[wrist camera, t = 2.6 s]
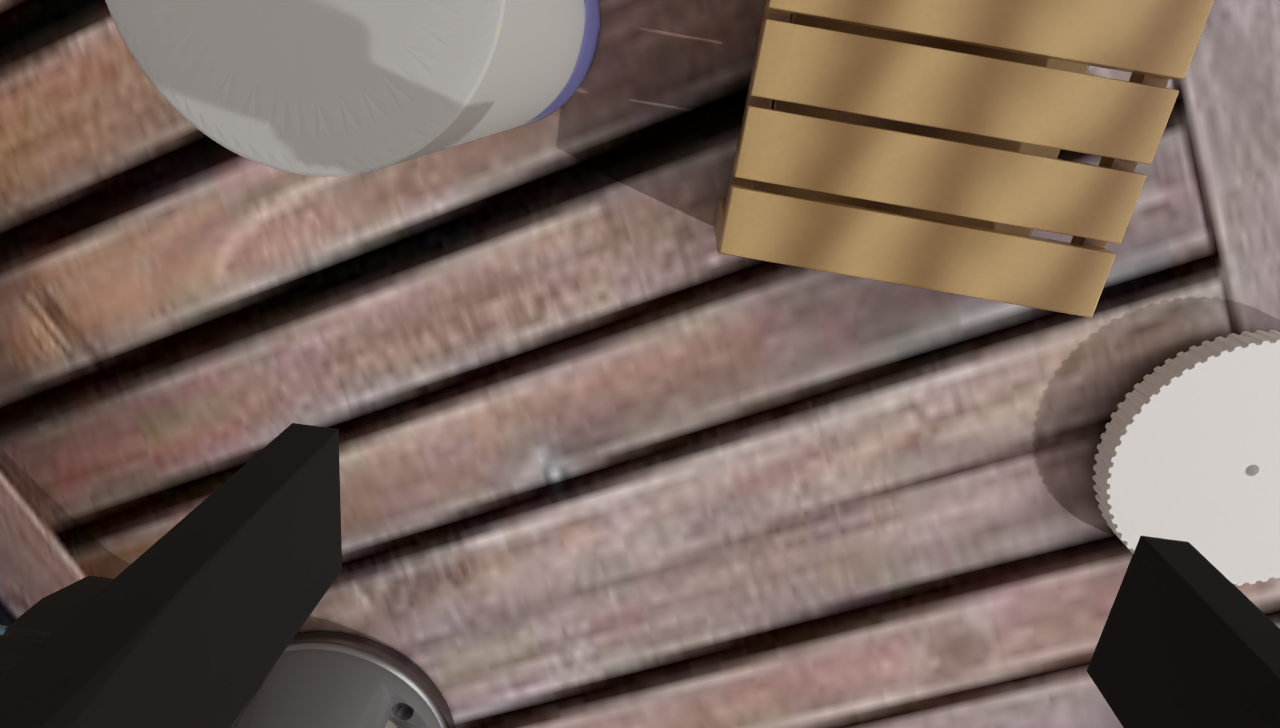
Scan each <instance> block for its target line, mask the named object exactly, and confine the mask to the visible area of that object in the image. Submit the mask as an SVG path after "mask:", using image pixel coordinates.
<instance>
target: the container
mask: <svg viewBox="0 0 1280 728" xmlns="http://www.w3.org/2000/svg"><path fill="white" fill-rule="evenodd" d="M105 1H106V3H107V6H108V8H109V11H110V13H111V16H112V18H113V20H114V23H115V25H116V27H117V29H118V31H119V33H120V35H121V37H122V39H123V41H124V42H125V44H126V46H127V48H128V49H129V51H130V53H131V54H132V56H133V58H134V59H135V61H136V62H137V64H138V65H139V67H140V68H141V70H142V71H143V72H144V74H145V75H146V76H147V78H148V79H149V80H150V82H151V83H152V84H153V85H154V87H155V88H156V89H157V90H158V91H159V93H160V94H161V95H162V96H163V97H164V98H165V99H166V100H167V101H168V102H169V104H170V105H171V106H172V107H173V108H174V109H175V110H176V111H178V112H179V113H180V114H181V115H182V116H183V117H184V118H185V119H186V120H188V121H189V122H190V123H191V124H192V125H193V126H195V127H196V128H197V129H199V130H200V131H201V132H203V133H204V134H205V135H207V136H208V137H210V138H211V139H213V140H214V141H216V142H217V143H219V144H220V145H222V146H224V147H225V148H227V149H229V150H231V151H233V152H234V153H236V154H238V155H240V156H242V157H245V158H247V159H249V160H251V161H254V162H256V163H259V164H262V165H265V166H267V167H271V168H274V169H277V170H281V171H285V172H290V173H295V174H301V175H310V176H346V175H354V174H360V173H365V172H369V171H373V170H377V169H380V168H383V167H387V166H390V165H393V164H397V163H400V162H403V161H407V160H410V159H413V158H417V157H420V156H423V155H427V154H430V153H433V152H437V151H440V150H443V149H446V148H450V147H453V146H456V145H460V144H463V143H466V142H470V141H473V140H476V139H480V138H483V137H486V136H490V135H493V134H496V133H500V132H503V131H506V130H510V129H513V128H516V127H520V126H523V125H526V124H529V123H532V122H535V121H538V120H540V119H542V118H544V117H546V116H548V115H549V114H551V113H553V112H554V111H556V110H557V109H558V108H560V107H561V106H562V105H563V104H564V103H565V102H567V101H568V100H569V99H570V98H571V96H572V95H573V94H574V93H575V92H576V91H577V89H578V88H579V86H580V85H581V84H582V82H583V80H584V79H585V77H586V75H587V73H588V71H589V69H590V67H591V65H592V62H593V59H594V56H595V53H596V50H597V45H598V40H599V34H600V2H599V0H105Z"/></svg>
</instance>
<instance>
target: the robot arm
mask: <svg viewBox="0 0 1280 728" xmlns="http://www.w3.org/2000/svg"><path fill="white" fill-rule="evenodd" d="M341 570H342V551H341V513H340V475H339V438H338V429H332V428H325V427H317V426H310V425H302V424H295V423H292V424H291V425H290V426H289V427H288V428H287V429H285V430H284V431H283V432H282V433H281V434H280V435H279V436H277V437H276V438H275V439H274V440H273V441H272V442H271V443H269V444H268V445H267V446H266V447H265V448H264V449H262V450H261V451H260V452H259V453H258V454H257V455H256V456H254V457H253V458H252V459H251V460H250V461H249V462H248V463H246V464H245V465H244V466H243V467H242V468H241V469H240V470H238V471H237V472H236V473H235V474H234V475H233V476H232V477H230V478H229V479H228V480H227V481H226V482H225V483H224V484H222V485H221V486H220V487H219V488H218V489H217V490H216V491H214V492H213V493H212V494H211V495H210V496H209V497H208V498H206V499H205V500H204V501H203V502H202V503H201V504H200V505H198V506H197V507H196V508H195V509H194V510H193V511H192V512H190V513H189V514H188V515H187V516H186V517H185V518H184V519H182V520H181V521H180V522H179V523H178V524H177V525H176V526H174V527H173V528H172V529H171V530H170V531H169V532H168V533H166V534H165V535H164V536H163V537H162V538H161V539H160V540H158V541H157V542H156V543H155V544H154V545H153V546H152V547H150V548H149V549H148V550H147V551H146V552H145V553H144V554H142V555H141V556H140V557H139V558H138V559H137V560H136V561H134V562H133V563H132V564H131V565H130V566H129V567H128V568H126V569H125V570H124V571H123V572H122V573H121V574H120V575H118V576H117V577H116V578H115V579H110V578H103V577H96V576H87V577H85V578H83V579H81V580H79V581H77V582H75V583H73V584H71V585H69V586H67V587H65V588H63V589H61V590H59V591H57V592H55V593H53V594H51V595H49V596H47V597H45V598H43V599H41V600H40V601H39V602H38V603H36V604H35V605H34V606H33V607H31V608H30V609H29V610H28V611H26V612H25V613H24V614H23V615H21V616H20V617H19V618H18V619H17V620H15V621H14V622H13V623H12V624H10V625H9V626H0V728H455V727H454V723H453V718H452V715H451V712H450V709H449V707H448V705H447V703H446V701H445V699H444V697H443V696H442V694H441V692H440V691H439V689H438V688H437V687H436V685H435V684H434V683H433V682H432V681H431V679H430V678H429V677H428V676H427V675H426V674H425V673H424V672H423V671H422V670H421V669H420V668H418V667H417V666H416V665H415V664H413V663H412V662H411V661H410V660H408V659H407V658H405V657H404V656H402V655H401V654H399V653H397V652H395V651H394V650H392V649H390V648H388V647H386V646H384V645H381V644H379V643H376V642H374V641H371V640H368V639H365V638H362V637H358V636H354V635H349V634H344V633H336V632H307V633H300V634H297V632H298V631H299V629H300V628H301V626H302V625H303V624H304V622H305V621H306V619H307V618H308V617H309V615H310V614H311V612H312V611H313V610H314V608H315V607H316V605H317V604H318V602H319V601H320V600H321V598H322V597H323V595H324V594H325V593H326V591H327V590H328V588H329V587H330V586H331V584H332V583H333V581H334V580H335V579H336V577H337V576H338V574H339V573H340V571H341ZM1087 672H1088V674H1089V675H1090V677H1091V678H1092V680H1093V681H1094V683H1095V684H1096V686H1097V687H1098V689H1099V690H1100V692H1101V693H1102V695H1103V697H1104V698H1105V700H1106V701H1107V703H1108V704H1109V706H1110V707H1111V709H1112V710H1113V712H1114V713H1115V715H1116V716H1117V718H1118V720H1119V721H1120V723H1121V724H1122V726H1123V727H1124V728H1280V629H1279V628H1278V627H1277V626H1276V625H1275V624H1274V623H1273V622H1272V621H1271V620H1270V619H1269V618H1268V617H1267V616H1266V615H1265V614H1264V613H1263V612H1262V611H1260V610H1259V609H1258V608H1257V607H1256V606H1255V605H1254V604H1253V603H1252V602H1251V601H1250V600H1249V599H1248V598H1247V597H1246V596H1245V595H1244V594H1243V593H1242V592H1241V591H1240V590H1238V589H1237V588H1236V587H1235V586H1234V585H1233V584H1232V583H1231V582H1230V581H1229V580H1228V579H1227V578H1226V577H1225V576H1224V575H1223V574H1222V573H1221V572H1220V571H1219V570H1218V569H1216V568H1215V567H1214V566H1213V565H1212V564H1211V563H1210V562H1209V561H1208V560H1207V559H1206V558H1205V557H1204V556H1203V555H1202V554H1201V553H1200V552H1199V551H1198V550H1197V549H1195V548H1194V547H1193V546H1192V545H1191V544H1190V543H1189V542H1185V541H1178V540H1170V539H1163V538H1155V537H1148V536H1140V538H1139V541H1138V544H1137V546H1136V549H1135V551H1134V554H1133V556H1132V559H1131V561H1130V564H1129V566H1128V569H1127V571H1126V574H1125V576H1124V579H1123V581H1122V584H1121V586H1120V589H1119V591H1118V594H1117V596H1116V599H1115V601H1114V604H1113V606H1112V609H1111V611H1110V614H1109V616H1108V619H1107V621H1106V624H1105V626H1104V629H1103V631H1102V634H1101V636H1100V639H1099V641H1098V644H1097V647H1096V649H1095V652H1094V654H1093V657H1092V659H1091V662H1090V664H1089V667H1088V669H1087Z"/></svg>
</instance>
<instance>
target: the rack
mask: <svg viewBox="0 0 1280 728" xmlns="http://www.w3.org/2000/svg"><path fill="white" fill-rule="evenodd" d="M1213 2H1214V0H766V4H765V9H764V14H763V19H762V24H761V29H760V34H759V39H758V44H757V49H756V54H755V59H754V64H753V69H752V74H751V79H750V84H749V89H748V94H747V99H746V104H745V109H744V114H743V119H742V124H741V129H740V134H739V139H738V144H737V149H736V154H735V159H734V164H733V169H732V174H731V179H730V184H729V189H728V194H727V199H720V200H719V204H718V209H717V214H716V219H715V225H714V228H715V236H716V243H717V250H718V253H722V254H728V255H734V256H739V257H745V258H751V259H757V260H762V261H768V262H774V263H780V264H785V265H791V266H797V267H803V268H808V269H814V270H820V271H826V272H831V273H837V274H843V275H849V276H854V277H860V278H866V279H872V280H877V281H883V282H889V283H895V284H900V285H906V286H912V287H918V288H924V289H929V290H935V291H941V292H947V293H952V294H958V295H964V296H970V297H975V298H981V299H987V300H993V301H998V302H1004V303H1010V304H1016V305H1021V306H1027V307H1033V308H1039V309H1044V310H1050V311H1056V312H1062V313H1067V314H1073V315H1079V316H1085V317H1092V316H1093V313H1094V311H1095V308H1096V306H1097V303H1098V300H1099V298H1100V295H1101V293H1102V290H1103V287H1104V285H1105V282H1106V280H1107V277H1108V274H1109V272H1110V269H1111V267H1112V264H1113V261H1114V259H1115V256H1116V254H1115V253H1113V252H1111V251H1108V250H1106V249H1105V247H1106V244H1107V242H1112V243H1118V244H1119V243H1121V241H1122V238H1123V236H1124V233H1125V231H1126V228H1127V225H1128V223H1129V220H1130V218H1131V215H1132V212H1133V210H1134V207H1135V205H1136V202H1137V199H1138V197H1139V194H1140V192H1141V189H1142V187H1143V184H1144V181H1145V179H1146V175H1145V174H1140V173H1136V172H1134V170H1135V168H1136V165H1137V162H1138V163H1144V164H1151V163H1152V161H1153V158H1154V155H1155V153H1156V150H1157V148H1158V145H1159V142H1160V140H1161V137H1162V135H1163V132H1164V129H1165V127H1166V124H1167V122H1168V119H1169V116H1170V114H1171V111H1172V109H1173V106H1174V103H1175V101H1176V98H1177V96H1178V93H1179V91H1178V90H1174V89H1168V88H1166V86H1167V83H1168V80H1169V79H1184V78H1185V75H1186V73H1187V70H1188V67H1189V65H1190V62H1191V60H1192V57H1193V54H1194V52H1195V49H1196V47H1197V44H1198V41H1199V39H1200V36H1201V34H1202V31H1203V28H1204V26H1205V23H1206V21H1207V18H1208V15H1209V13H1210V10H1211V8H1212V5H1213ZM791 14H793V16H792V21H791V23H789V21H790V16H791ZM1089 65H1091V66H1097V67H1103V68H1108V69H1114V70H1120V71H1126V72H1132V75H1131V78H1130V81H1129V82H1128V81H1122V80H1116V79H1110V78H1105V77H1099V76H1093V75H1087V74H1086V72H1087V70H1088V67H1089ZM773 99H774V100H775V101H774V106H773V109H771V106H772V102H773ZM1060 149H1063V150H1069V151H1075V152H1080V153H1086V154H1092V155H1098V156H1102V158H1101V161H1100V164H1099V166H1096V165H1090V164H1084V163H1079V162H1073V161H1067V160H1061V159H1057V157H1058V154H1059V151H1060ZM756 181H757V186H756V188H754V187H755V182H756ZM1033 229H1037V230H1043V231H1049V232H1054V233H1060V234H1066V235H1072V236H1073V238H1072V241H1071V243H1068V242H1062V241H1057V240H1051V239H1045V238H1039V237H1033V236H1031V233H1032V230H1033Z"/></svg>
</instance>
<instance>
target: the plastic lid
mask: <svg viewBox="0 0 1280 728" xmlns="http://www.w3.org/2000/svg"><path fill="white" fill-rule="evenodd" d="M1143 379H1144V381H1143V382H1141V383H1136V384H1135V385H1134V390H1133V391H1132V392H1131V393H1130V392H1128V393H1127V394H1126V395H1125V397H1126V399H1125V401H1124V402H1120V403H1119V404H1118V405H1117V407H1118V408H1119V409H1118V410H1117V412H1113V413H1112V414H1111V416H1110V417H1111V418H1112V420H1111V422H1109V423H1106V425H1105V428H1106V429H1107V430H1106V432H1105V433H1102V434H1101V436H1100V438H1101V439H1102V442H1101V443H1100V444H1098V445H1097V449H1098V450H1099V453H1098V454H1095V457H1094V459H1095V460H1096V461H1097V464H1095V465H1093V470H1094V471H1095V472H1096V474H1095V475H1093V480H1094V481H1095V482H1096V485H1094V486H1093V487H1094V490H1095V491H1096V492H1097V493H1098V494H1097V495H1095V498H1096V500H1097V501H1098V502H1099V503H1100V504H1098V507H1099V509H1100V510H1101V511H1102V512H1103V513H1102V516H1103V518H1104V519H1105V520H1106V521H1107V522H1106V523H1107V524H1108V526H1109V527H1110V528H1111V529H1112V531H1113V532H1114V534H1115V535H1116V536H1117V537H1118V538H1119V539H1120V540H1121V541H1122V542H1123V543H1124V544H1125V545H1126V547H1127V548H1128V549H1129V550H1130V551H1131V552H1132V553H1133V554H1134V551H1135V549H1136V546H1137V544H1138V541H1139V538H1140V536H1148V537H1155V538H1163V539H1170V540H1178V541H1185V542H1189V543H1190V544H1191V545H1192V546H1193V547H1194V548H1195V549H1197V550H1198V551H1199V552H1200V553H1201V554H1202V555H1203V556H1204V557H1205V558H1206V559H1207V560H1208V561H1209V562H1210V563H1211V564H1212V565H1213V566H1214V567H1215V568H1216V569H1218V570H1219V571H1220V572H1221V573H1222V574H1223V575H1224V576H1225V577H1226V578H1227V579H1228V580H1229V581H1230V582H1231V583H1232V584H1236V585H1237V586H1241V585H1243V584H1244V583H1247V582H1248V583H1249V584H1255V583H1256V581H1259V580H1261V581H1262V582H1265V581H1268V579H1269V578H1272V577H1274V578H1275V579H1277V578H1280V332H1278V331H1276V330H1269V331H1268V332H1265V331H1262V330H1256V331H1255V332H1254V333H1251V332H1249V331H1243V332H1242V333H1241V335H1237V334H1235V333H1231V334H1229V335H1228V337H1226V338H1223V337H1221V336H1219V337H1216V338H1215V340H1214V341H1212V342H1210V341H1208V340H1206V341H1204V342H1202V345H1201V346H1198V347H1196V346H1195V345H1194V346H1191V347H1189V351H1187V352H1185V353H1184V352H1182V351H1181V352H1179V353H1177V357H1176V358H1174V359H1170V358H1169V359H1167V360H1166V361H1165V364H1164V365H1163V366H1161V367H1160V366H1157V367H1155V368H1154V372H1153V373H1152V374H1151V375H1149V374H1146V375H1145V376H1144V377H1143Z"/></svg>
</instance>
